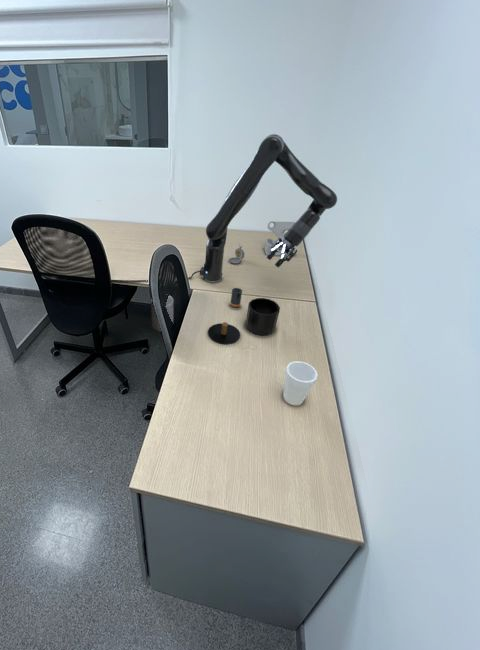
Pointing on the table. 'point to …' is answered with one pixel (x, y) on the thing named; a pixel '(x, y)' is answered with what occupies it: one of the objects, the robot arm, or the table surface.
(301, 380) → the foam cup
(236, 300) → the socket
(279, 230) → the phone holder
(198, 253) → the table surface
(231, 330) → the lid
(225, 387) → the table surface
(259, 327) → the pot
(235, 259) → the pocket watch
